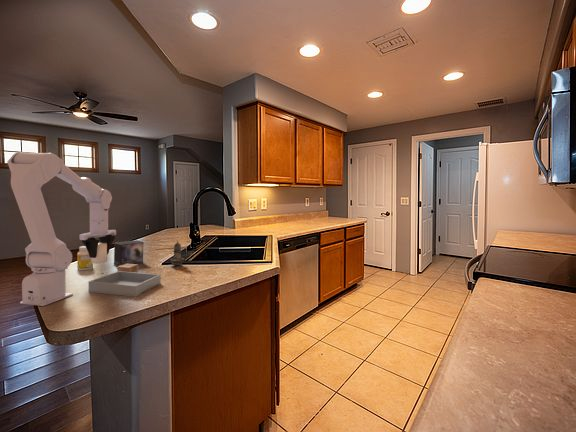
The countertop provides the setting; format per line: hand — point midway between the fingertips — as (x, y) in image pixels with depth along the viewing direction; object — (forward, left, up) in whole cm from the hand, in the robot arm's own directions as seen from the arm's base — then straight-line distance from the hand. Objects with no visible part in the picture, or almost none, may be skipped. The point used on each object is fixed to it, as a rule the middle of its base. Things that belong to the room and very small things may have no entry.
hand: (99, 256), depth 101 cm
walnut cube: (+4, -9, -9) cm, 13 cm away
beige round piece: (0, 0, -2) cm, 2 cm away
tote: (-6, -16, -9) cm, 20 cm away
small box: (+22, +5, -9) cm, 24 cm away
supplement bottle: (+10, +16, -9) cm, 21 cm away
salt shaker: (+24, -18, -9) cm, 31 cm away
